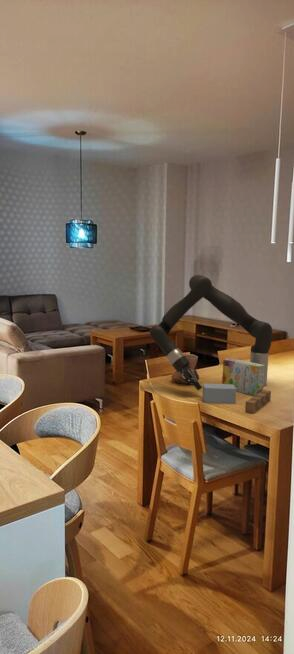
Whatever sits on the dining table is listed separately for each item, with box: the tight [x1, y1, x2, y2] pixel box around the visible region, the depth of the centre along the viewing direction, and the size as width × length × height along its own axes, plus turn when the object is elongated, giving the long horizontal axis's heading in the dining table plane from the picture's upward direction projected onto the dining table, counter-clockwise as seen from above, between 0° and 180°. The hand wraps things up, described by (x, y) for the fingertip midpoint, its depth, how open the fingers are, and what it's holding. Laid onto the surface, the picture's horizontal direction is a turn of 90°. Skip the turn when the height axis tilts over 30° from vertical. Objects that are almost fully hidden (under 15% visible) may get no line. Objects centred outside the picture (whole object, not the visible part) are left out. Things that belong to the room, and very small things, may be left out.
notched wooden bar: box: [244, 389, 272, 415], centre depth 211 cm, size 24×4×4 cm, turn 148°
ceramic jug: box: [171, 353, 200, 385], centre depth 247 cm, size 18×14×14 cm
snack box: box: [221, 357, 265, 397], centre depth 234 cm, size 21×6×15 cm, turn 44°
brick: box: [202, 383, 237, 405], centre depth 218 cm, size 8×14×7 cm, turn 89°
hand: (200, 389), depth 223 cm, fingers closed
